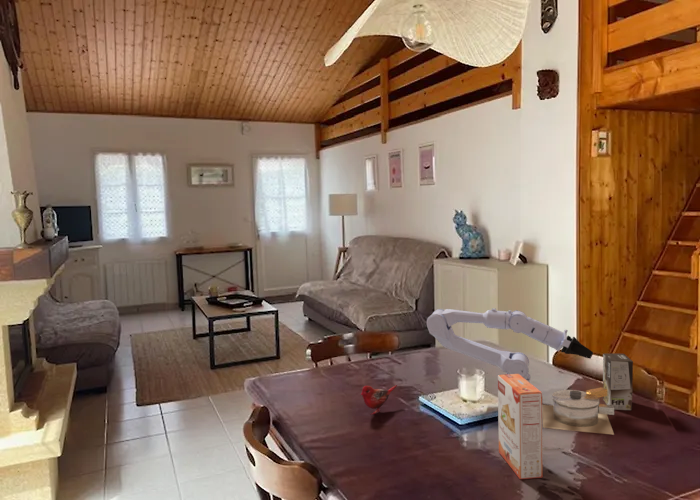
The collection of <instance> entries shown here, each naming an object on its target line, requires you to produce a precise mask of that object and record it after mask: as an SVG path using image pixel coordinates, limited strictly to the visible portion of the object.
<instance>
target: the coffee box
mask: <svg viewBox="0 0 700 500" xmlns="http://www.w3.org/2000/svg"><path fill="white" fill-rule="evenodd" d="M602 358H603V360H602V388H605V389H607V396H605V397H602V400H603V401H604V403H605V404H606V405H613V406H614V411H617V410H619V411H632V410H633V382H634V381H633V380H634V379H633V375H634V373H633V372H634V371H633V370H634V361H633V360H632V359H630V358H629V357H628V356H627V355H626V354H625V353H603V354H602Z"/></svg>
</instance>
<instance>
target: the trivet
mask: <svg viewBox="0 0 700 500" xmlns="http://www.w3.org/2000/svg"><path fill="white" fill-rule="evenodd" d="M543 428H544V429H552V430H553V429H554V430H564V431H572V432H573V431H574V432H581V433H582V432H583V433H594V434H603V435H613V436H614V435H615V433H614V430H613V428H612V424H611V422H610V419H609V416H608V414H599V413H598V423H597V424H596V425H594V426H589V427H576V426H570V425H566V424H563V423H560V422H558V421H557V420H555V419H554V417H553V404H550V405H549V404H542V429H543Z"/></svg>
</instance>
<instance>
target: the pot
mask: <svg viewBox="0 0 700 500" xmlns="http://www.w3.org/2000/svg"><path fill="white" fill-rule="evenodd" d="M552 401H553V400H552ZM552 406H553V417H554V419H555V420H557V421H558V422H560V423H563V424H566V425H570V426H576V427H589V426H594V425H596V424H597V423H598V413H599V414H607V416H608V415H610V416H615V410H614V406H613V405H607V404H606V403H605V404H604V403H603V404H602V403H600V404H599V406H597V407H595V408H590V409H576V408H569V407H565V406H562V405H559V404H557V403H555V402H554V401H553V404H552Z"/></svg>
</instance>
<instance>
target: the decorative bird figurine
mask: <svg viewBox="0 0 700 500" xmlns="http://www.w3.org/2000/svg"><path fill="white" fill-rule="evenodd" d="M397 386H398V384H395V385H394V386H392V387H390V388H389V389H388V390H387V389H380V388H379V389H378V388H377V389H376V388H373V387H372V386H370V385H366V384H365V385H364V386H363V387H362V389H361V393H360V396H362V398H363V402H364V404H365V406H367V407H368V408H369V409H373V410H375V409H376V410H375V411H373V413H370V414H369V415H370V416H371V415H376V414H377V413H379V412H380V411H381V409H380V408H381V407H382V406H383V405H385V403H386V402H387V400H388V399H389V396H390V394H391V393H392V392H393V391H394V390H395V389H396V388H397Z"/></svg>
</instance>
